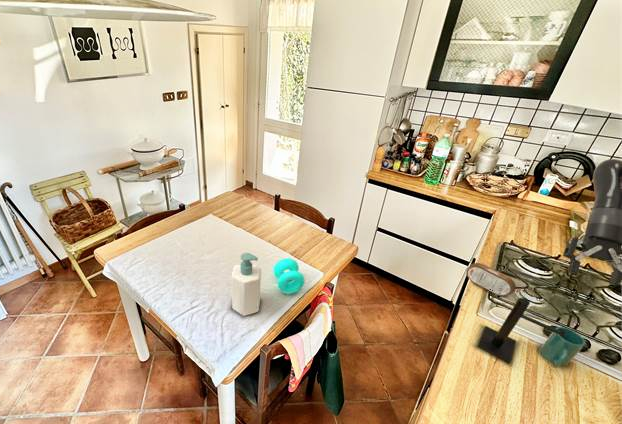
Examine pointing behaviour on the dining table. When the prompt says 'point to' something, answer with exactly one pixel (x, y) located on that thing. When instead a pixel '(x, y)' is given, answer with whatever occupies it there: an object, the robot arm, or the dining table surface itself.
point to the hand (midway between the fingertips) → (593, 279)
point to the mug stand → (500, 341)
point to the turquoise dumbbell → (288, 276)
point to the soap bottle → (246, 286)
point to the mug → (562, 347)
